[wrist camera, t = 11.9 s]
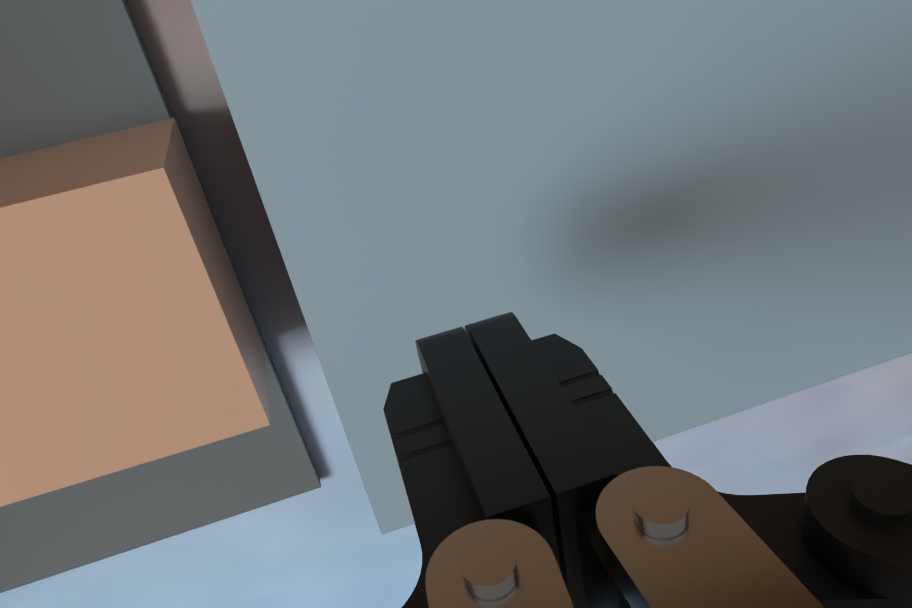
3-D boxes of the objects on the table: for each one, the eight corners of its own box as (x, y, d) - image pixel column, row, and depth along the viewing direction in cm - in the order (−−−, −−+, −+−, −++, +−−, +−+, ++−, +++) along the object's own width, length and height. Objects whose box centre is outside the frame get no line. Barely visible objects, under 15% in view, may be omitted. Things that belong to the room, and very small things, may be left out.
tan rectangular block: (174, 117, 14) (163, 167, 12) (264, 348, 18) (269, 425, 15) (-312, 232, 13) (-434, 314, 11) (-119, 458, 17) (-179, 561, 14)
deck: (1098, -336, 15) (1341, -395, 12) (956, 234, 23) (1079, 295, 20) (160, -145, 13) (135, -151, 9) (356, 427, 20) (382, 534, 17)
